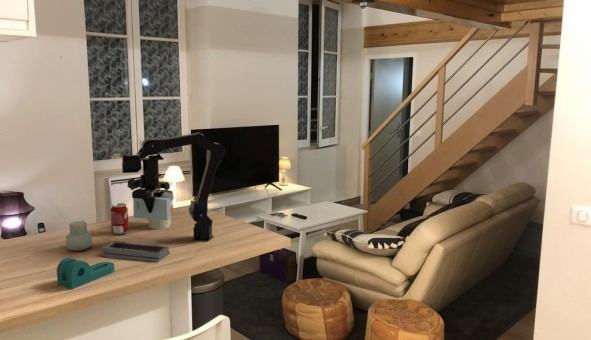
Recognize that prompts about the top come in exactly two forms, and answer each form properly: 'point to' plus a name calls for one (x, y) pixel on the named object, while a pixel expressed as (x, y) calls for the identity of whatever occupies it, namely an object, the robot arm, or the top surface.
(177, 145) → the robot arm
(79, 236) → the air freshener
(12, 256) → the top surface
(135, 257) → the floor track
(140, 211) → the door panel
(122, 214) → the soda can
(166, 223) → the reusable coffee cup
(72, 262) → the bracket
